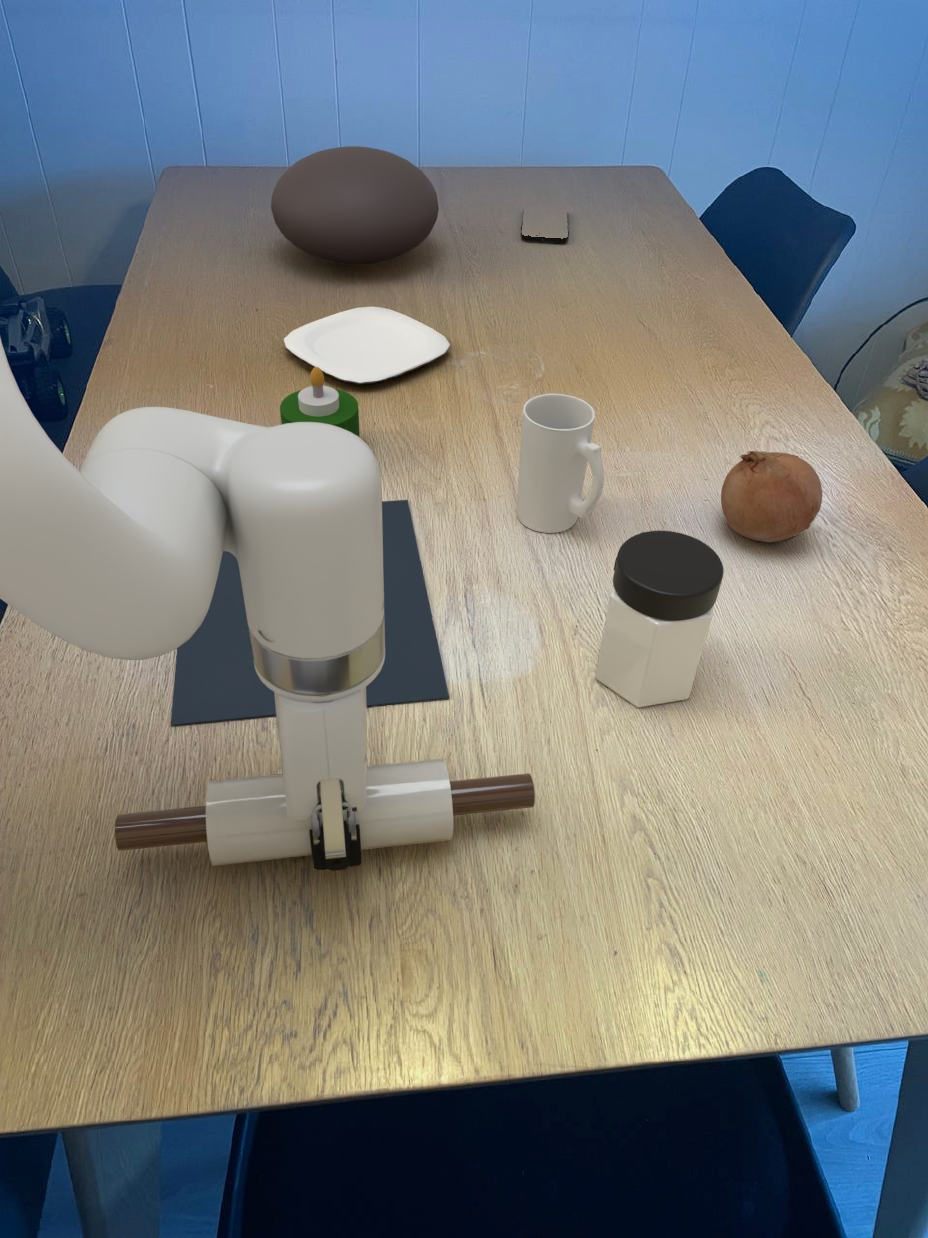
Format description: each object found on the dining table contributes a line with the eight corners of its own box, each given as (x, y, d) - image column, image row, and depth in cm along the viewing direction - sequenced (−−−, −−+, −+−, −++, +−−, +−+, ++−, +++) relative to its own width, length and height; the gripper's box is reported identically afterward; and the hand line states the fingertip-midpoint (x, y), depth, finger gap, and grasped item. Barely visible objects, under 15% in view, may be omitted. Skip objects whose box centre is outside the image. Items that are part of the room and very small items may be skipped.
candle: (328, 480, 99) (322, 395, 92) (268, 455, 102) (258, 371, 95) (375, 446, 104) (372, 363, 97) (317, 423, 107) (311, 341, 100)
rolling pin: (519, 781, 70) (527, 734, 66) (535, 846, 66) (544, 800, 62) (131, 820, 66) (114, 773, 62) (123, 892, 62) (104, 846, 58)
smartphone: (569, 206, 161) (569, 238, 150) (568, 212, 161) (568, 244, 150) (523, 203, 161) (520, 234, 150) (523, 209, 162) (519, 240, 151)
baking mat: (449, 699, 76) (449, 697, 76) (171, 726, 73) (170, 724, 73) (407, 501, 96) (407, 499, 96) (188, 515, 93) (188, 514, 93)
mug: (500, 510, 96) (508, 405, 88) (549, 489, 99) (561, 386, 91) (565, 560, 90) (580, 454, 82) (615, 536, 93) (635, 431, 85)
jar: (673, 631, 83) (701, 522, 75) (713, 697, 77) (748, 586, 69) (578, 646, 81) (596, 536, 73) (612, 714, 75) (635, 603, 67)
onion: (715, 551, 97) (689, 469, 92) (779, 503, 99) (757, 420, 94) (785, 574, 89) (760, 486, 84) (852, 522, 91) (832, 432, 86)
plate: (466, 356, 121) (466, 343, 120) (358, 402, 111) (357, 389, 110) (374, 310, 130) (374, 298, 129) (268, 349, 120) (266, 336, 119)
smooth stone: (250, 242, 146) (237, 140, 136) (388, 217, 157) (387, 119, 147) (320, 301, 131) (312, 190, 121) (468, 268, 142) (472, 163, 132)
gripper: (252, 547, 58) (278, 736, 71) (249, 761, 46) (282, 946, 58) (371, 540, 60) (377, 727, 72) (401, 747, 47) (402, 931, 59)
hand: (334, 823), depth 65 cm, fingers closed on rolling pin, 5 cm apart
